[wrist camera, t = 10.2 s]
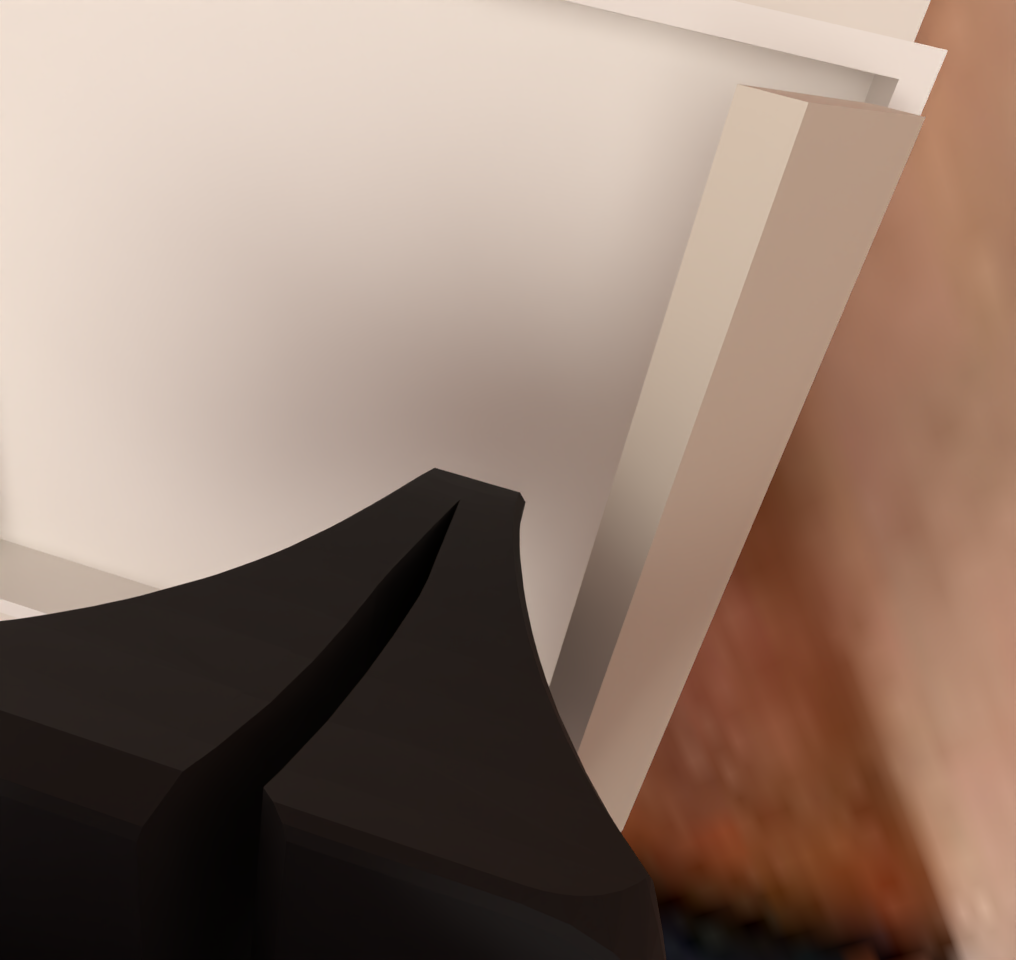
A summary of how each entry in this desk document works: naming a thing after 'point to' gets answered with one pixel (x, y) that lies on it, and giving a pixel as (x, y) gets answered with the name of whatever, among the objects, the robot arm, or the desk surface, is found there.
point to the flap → (719, 407)
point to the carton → (356, 259)
